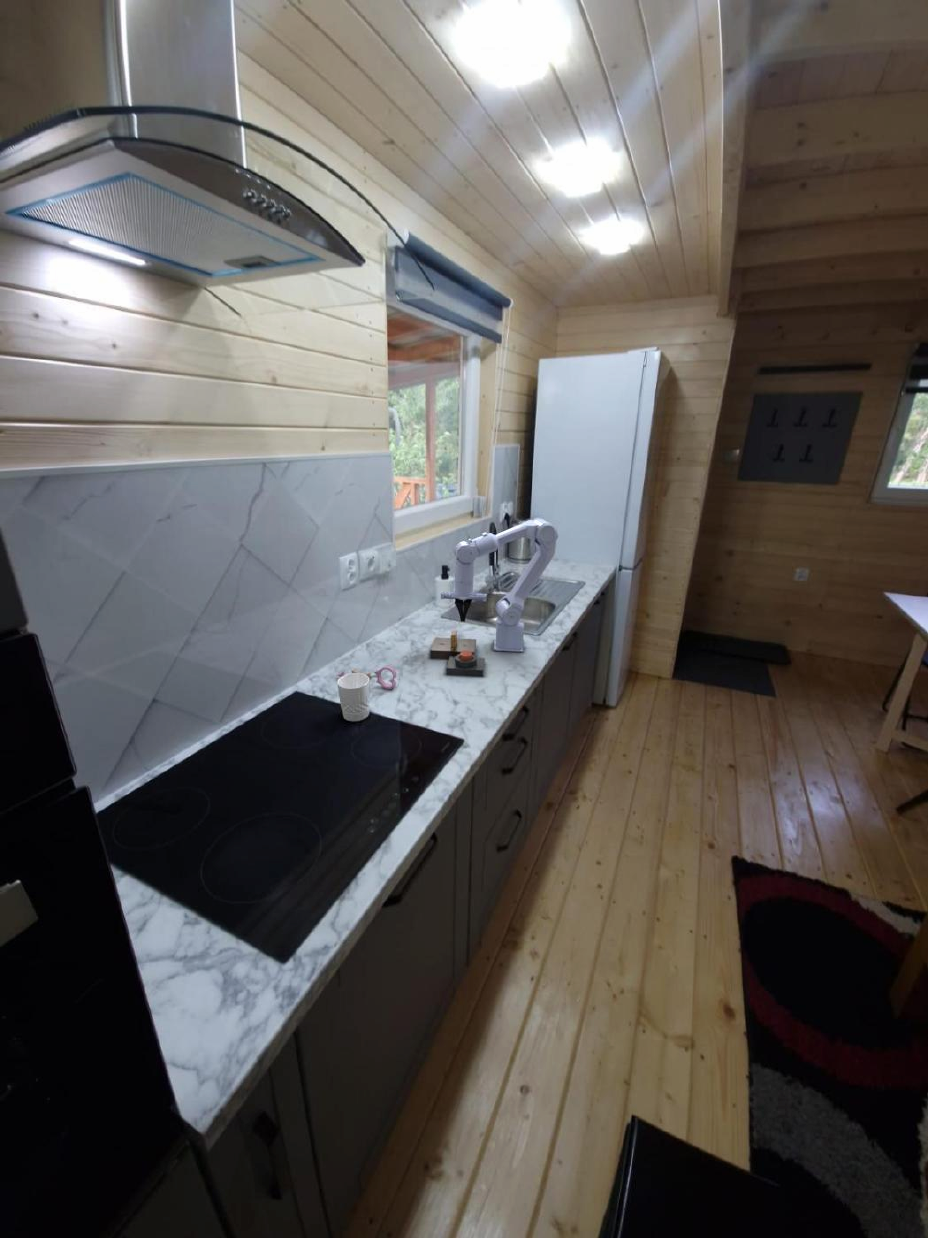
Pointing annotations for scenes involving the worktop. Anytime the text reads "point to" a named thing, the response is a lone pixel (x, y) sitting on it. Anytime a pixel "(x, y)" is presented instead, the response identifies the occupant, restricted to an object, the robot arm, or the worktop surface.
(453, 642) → the lock knob
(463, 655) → the bell button
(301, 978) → the worktop surface
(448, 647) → the plate
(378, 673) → the decorative key
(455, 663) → the doorbell
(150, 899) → the worktop surface
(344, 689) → the white cup
